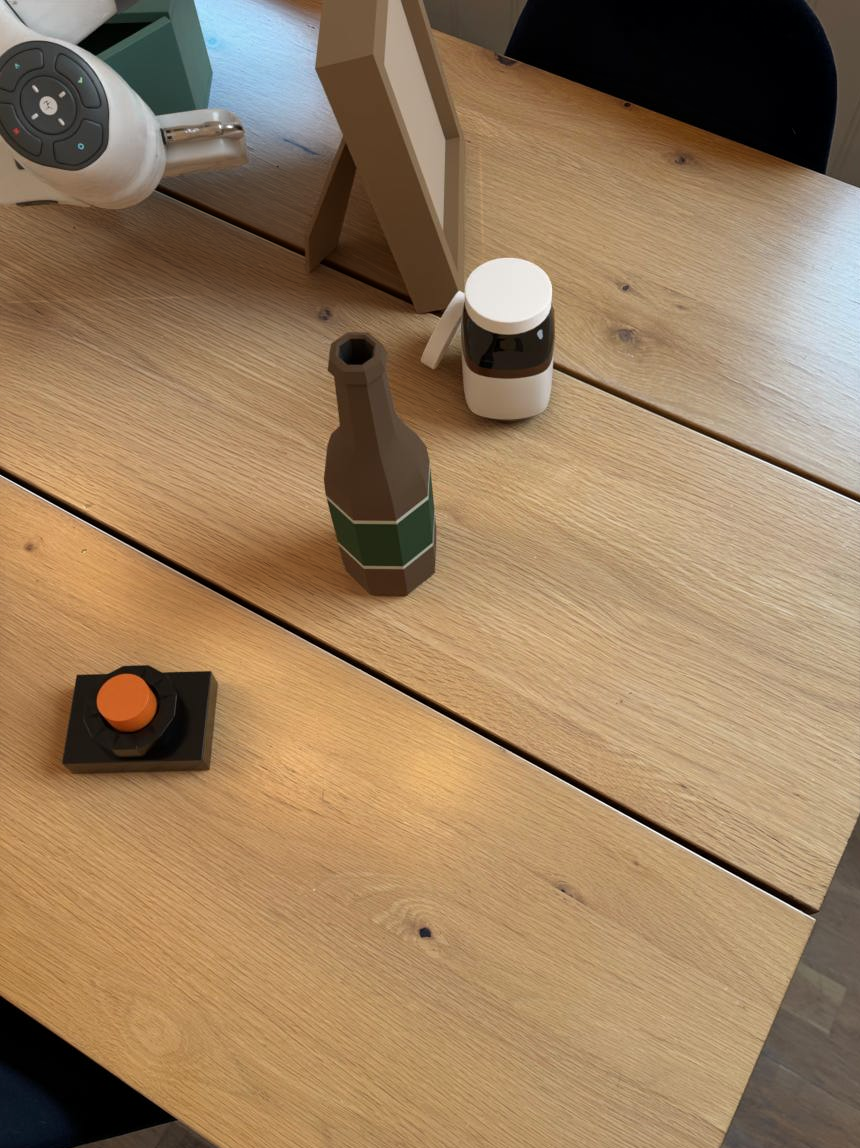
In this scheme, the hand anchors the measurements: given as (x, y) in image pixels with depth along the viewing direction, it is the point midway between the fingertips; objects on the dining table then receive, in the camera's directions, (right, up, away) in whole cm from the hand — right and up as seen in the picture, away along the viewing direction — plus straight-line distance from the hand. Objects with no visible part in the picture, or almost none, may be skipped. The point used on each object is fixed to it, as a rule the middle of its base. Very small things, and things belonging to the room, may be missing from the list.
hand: (135, 167), depth 92 cm
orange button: (+5, -46, -17) cm, 49 cm away
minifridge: (-5, +14, +18) cm, 24 cm away
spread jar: (+31, -19, +1) cm, 36 cm away
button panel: (+5, -48, -14) cm, 50 cm away
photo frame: (+21, -2, +9) cm, 23 cm away
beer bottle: (+23, -35, -7) cm, 42 cm away
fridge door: (-1, +4, +12) cm, 13 cm away
